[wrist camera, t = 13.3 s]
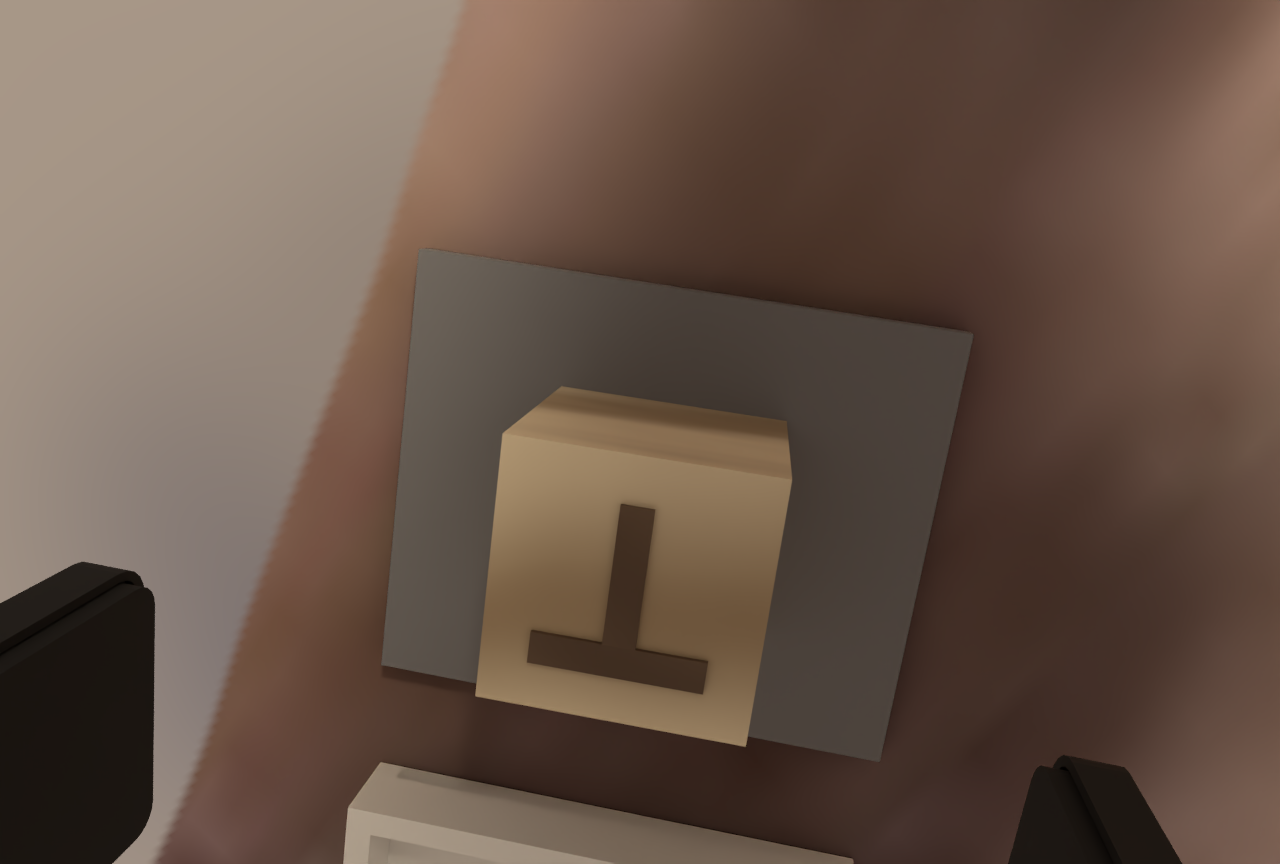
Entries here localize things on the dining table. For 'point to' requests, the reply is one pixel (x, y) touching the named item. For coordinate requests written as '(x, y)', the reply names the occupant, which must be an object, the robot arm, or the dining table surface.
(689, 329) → the pad
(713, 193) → the dining table surface
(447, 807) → the tray
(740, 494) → the letter cube
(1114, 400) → the dining table surface
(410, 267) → the dining table surface
